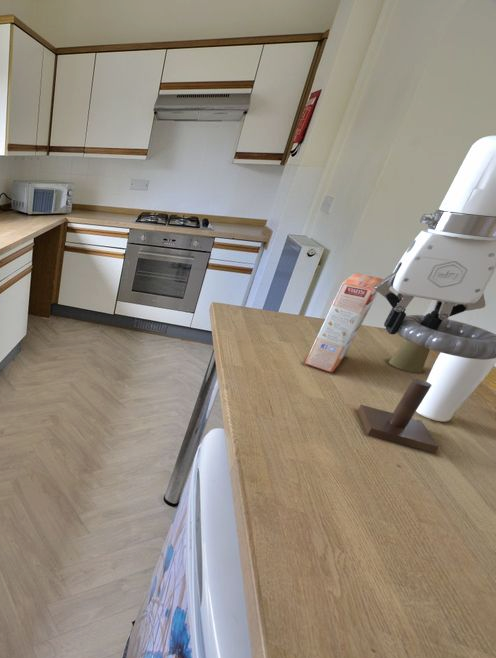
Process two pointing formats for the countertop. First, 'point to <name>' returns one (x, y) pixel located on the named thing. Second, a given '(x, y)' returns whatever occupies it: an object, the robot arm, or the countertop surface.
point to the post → (401, 420)
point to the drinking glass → (452, 385)
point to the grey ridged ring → (450, 338)
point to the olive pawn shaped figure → (410, 357)
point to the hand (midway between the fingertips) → (405, 333)
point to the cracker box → (343, 321)
